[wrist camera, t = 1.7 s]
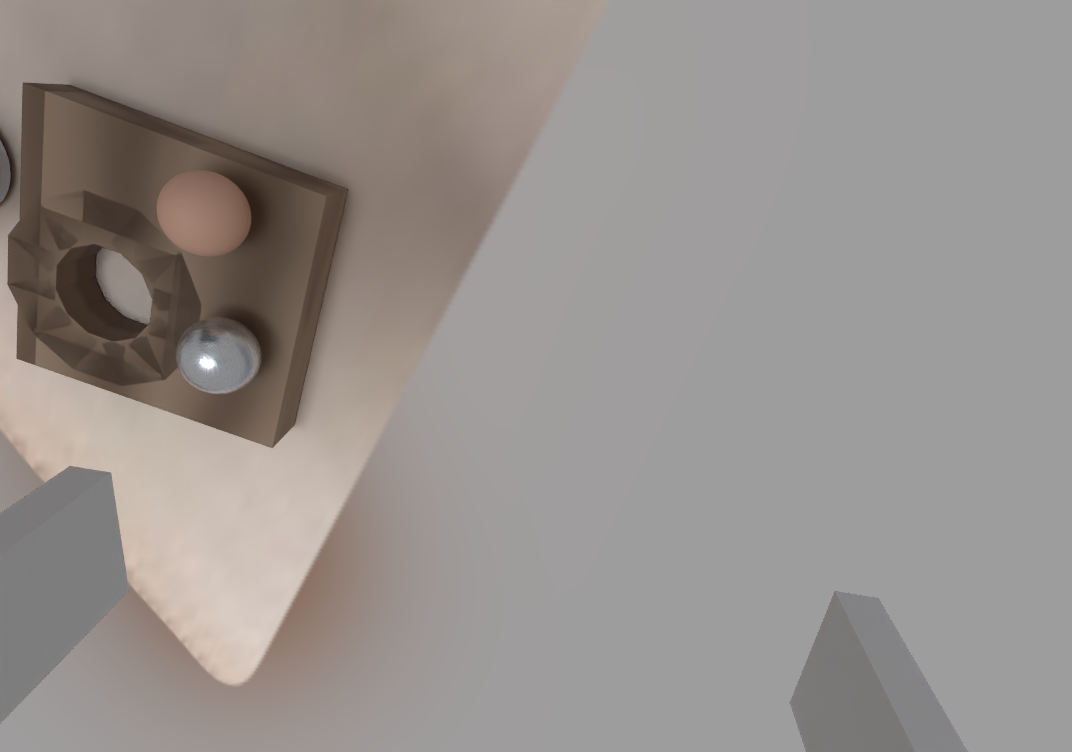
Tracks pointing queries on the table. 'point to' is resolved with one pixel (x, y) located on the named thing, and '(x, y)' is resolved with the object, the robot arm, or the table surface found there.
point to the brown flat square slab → (162, 259)
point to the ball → (218, 355)
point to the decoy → (203, 213)
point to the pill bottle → (4, 172)
